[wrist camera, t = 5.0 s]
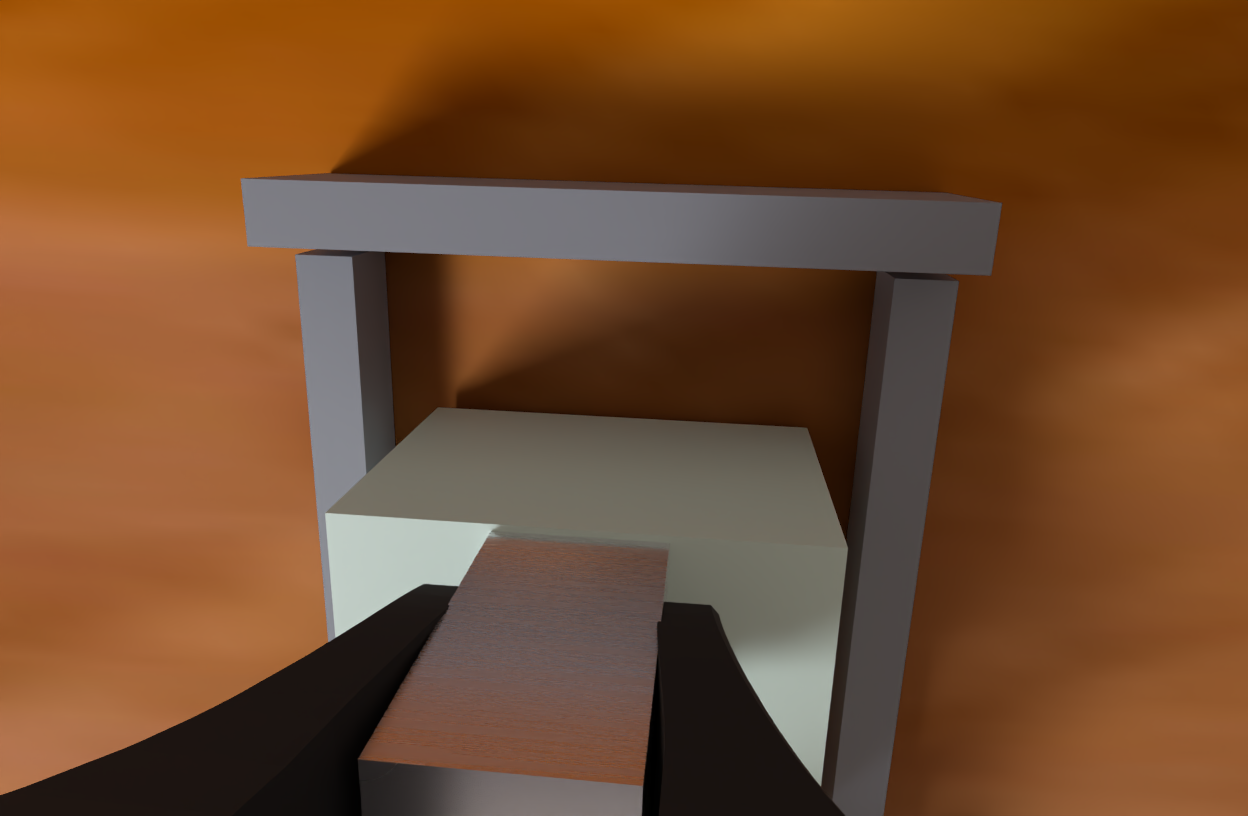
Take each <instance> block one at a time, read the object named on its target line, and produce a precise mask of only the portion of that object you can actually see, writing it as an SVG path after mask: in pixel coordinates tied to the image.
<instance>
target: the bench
mask: <svg viewBox="0 0 1248 816" xmlns="http://www.w3.org/2000/svg"><path fill="white" fill-rule="evenodd" d="M241 185H242V195H243V204H244V214H245V224H246V234H247V244H248V246H253V247H278V248H303V249H316V250H312V251H308V252H304V253H300V254H296V255H295V257H296V269H297V280H298V292H299V304H300V316H301V327H302V339H303V351H304V362H305V374H306V386H307V397H308V409H309V421H310V432H311V444H312V456H313V467H314V479H315V491H316V502H317V514H318V526H319V537H320V549H321V561H322V572H323V584H324V596H325V607H326V619H327V631H328V642H330V641H331V640H333V639H334V638H335V627H334V615H333V603H332V591H331V579H330V567H329V555H328V543H327V531H326V519H325V513H326V512H327V511H328V510H329V509H330V508H331V507H332V506H333V505H334V504H335V503H336V502H337V501H338V500H339V499H340V498H342V497H343V496H344V495H345V494H346V493H347V492H348V491H349V490H350V489H351V488H352V487H353V486H354V485H355V484H356V483H358V482H359V481H360V480H361V479H362V478H363V477H364V476H365V475H366V474H367V473H368V472H369V471H370V470H371V469H372V468H374V467H375V466H376V465H377V464H378V463H379V462H380V461H381V460H382V459H383V458H384V457H385V456H386V455H387V454H389V453H390V452H391V451H392V450H393V449H394V448H395V429H394V411H393V393H392V375H391V357H390V339H389V321H388V302H387V284H386V266H385V252H405V253H430V254H456V255H481V256H507V257H532V258H557V259H583V260H608V261H634V262H659V263H684V264H710V265H735V266H761V267H786V268H811V269H837V270H862V271H877V276H876V285H875V294H874V302H873V311H872V320H871V329H870V338H869V347H868V356H867V364H866V373H865V382H864V391H863V400H862V409H861V417H860V426H859V435H858V444H857V453H856V462H855V471H854V479H853V488H852V497H851V506H850V515H849V524H848V533H847V541H846V544H847V547H848V553H847V562H846V570H845V579H844V588H843V597H842V605H841V614H840V623H839V632H838V641H837V649H836V658H835V667H834V676H833V685H832V693H831V702H830V711H829V720H828V728H827V737H826V746H825V755H824V764H823V772H822V781H821V787H822V789H823V790H824V791H825V792H826V793H827V795H828V796H829V797H830V798H831V799H832V800H833V802H834V803H835V804H836V805H837V806H838V807H839V809H840V810H841V811H842V812H843V813H844V814H845V816H883V815H884V808H885V801H886V794H887V786H888V779H889V772H890V765H891V758H892V751H893V744H894V737H895V730H896V723H897V716H898V709H899V702H900V695H901V688H902V680H903V673H904V666H905V659H906V652H907V645H908V638H909V631H910V624H911V617H912V610H913V603H914V596H915V589H916V582H917V574H918V567H919V560H920V553H921V546H922V539H923V532H924V525H925V518H926V511H927V504H928V497H929V490H930V483H931V476H932V468H933V461H934V454H935V447H936V440H937V433H938V426H939V419H940V412H941V405H942V398H943V391H944V384H945V377H946V370H947V362H948V355H949V348H950V341H951V334H952V327H953V320H954V313H955V306H956V299H957V292H958V285H959V281H958V280H956V279H954V278H952V277H950V276H948V275H946V274H964V275H989V276H991V273H992V267H993V260H994V254H995V247H996V241H997V234H998V228H999V221H1000V214H1001V208H1002V203H999V202H994V201H988V200H983V199H978V198H972V197H967V196H961V195H956V194H950V193H941V192H909V191H877V190H845V189H813V188H781V187H749V186H717V185H685V184H653V183H621V182H589V181H557V180H525V179H493V178H461V177H429V176H397V175H365V174H333V173H324V174H308V175H291V176H275V177H258V178H242V179H241Z"/></svg>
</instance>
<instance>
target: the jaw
mask: <svg viewBox="0 0 1248 816" xmlns="http://www.w3.org/2000/svg"><path fill="white" fill-rule="evenodd" d="M325 519H326V531H327V543H328V555H329V567H330V579H331V591H332V603H333V615H334V627H335V638H336V637H338V636H339V635H341V634H342V633H344V632H346V631H347V630H349V629H350V628H352V627H354V626H355V625H357V624H358V623H360V622H362V621H363V620H365V619H366V618H368V617H369V616H371V615H372V614H374V613H376V612H377V611H379V610H380V609H382V608H383V607H385V606H387V605H388V604H390V603H391V602H393V601H395V600H396V599H398V598H399V597H401V596H403V595H404V594H406V593H408V592H409V591H411V590H413V589H415V588H417V587H419V586H421V585H423V584H434V585H448V586H458V588H457V590H456V592H455V593H454V595H453V597H452V598H451V600H450V602H449V604H448V605H450V606H449V607H448V609H447V611H446V613H445V614H444V615H443V617H442V618H441V619H440V621H439V622H438V623H437V624H436V626H435V628H434V629H433V631H432V633H431V635H430V636H429V638H428V640H427V641H426V643H425V645H424V647H423V648H422V650H421V652H420V653H419V655H418V657H417V659H416V660H415V662H414V664H413V665H412V667H411V669H410V671H409V672H408V674H407V676H406V677H405V679H404V681H403V683H402V684H401V686H400V688H399V689H398V691H397V693H396V695H395V696H394V698H393V700H392V701H391V703H390V705H389V707H388V708H387V710H386V712H385V713H384V715H383V717H382V719H381V720H380V722H379V724H378V726H377V727H376V729H375V731H374V732H373V734H372V736H371V738H370V739H369V741H368V743H367V744H366V746H365V748H364V750H363V751H362V753H361V755H360V756H359V758H358V769H359V782H360V795H361V808H362V816H651V795H652V773H653V750H654V727H655V704H656V681H657V658H658V642H657V622H658V621H661V618H662V611H663V606H664V602H677V603H691V604H704V605H711V606H712V607H713V608H714V609H715V610H716V611H717V613H718V614H719V616H720V620H721V623H722V626H723V629H724V631H725V634H726V636H727V638H728V641H729V643H730V645H731V647H732V649H733V651H734V653H735V656H736V658H737V660H738V662H739V664H740V666H741V667H742V669H743V671H744V673H745V675H746V677H747V679H748V680H749V682H750V684H751V685H752V687H753V689H754V690H755V692H756V694H757V695H758V697H759V699H760V701H761V702H762V704H763V706H764V707H765V709H766V711H767V712H768V714H769V715H770V717H771V718H772V720H773V721H774V723H775V725H776V726H777V728H778V729H779V731H780V732H781V733H782V735H783V736H784V738H785V739H786V741H787V742H788V743H789V745H790V746H791V748H792V749H793V751H794V752H795V753H796V755H797V756H798V758H799V759H800V760H801V762H802V763H803V764H804V766H805V767H806V768H807V770H808V771H809V772H810V774H811V775H812V776H813V777H814V779H815V780H816V781H817V782H818V784H819V785H820V786H821V781H822V772H823V764H824V755H825V746H826V737H827V728H828V720H829V711H830V702H831V693H832V685H833V676H834V667H835V658H836V649H837V641H838V632H839V623H840V614H841V605H842V597H843V588H844V579H845V570H846V562H847V553H848V547H847V544H846V541H845V538H844V535H843V532H842V529H841V526H840V523H839V520H838V517H837V514H836V511H835V508H834V505H833V502H832V500H831V497H830V494H829V491H828V488H827V485H826V482H825V479H824V476H823V473H822V470H821V467H820V464H819V461H818V458H817V455H816V452H815V449H814V447H813V444H812V441H811V438H810V435H809V432H808V429H807V428H802V427H784V426H766V425H748V424H730V423H712V422H694V421H675V420H657V419H639V418H621V417H603V416H585V415H567V414H549V413H531V412H513V411H495V410H477V409H459V408H441V407H438V408H437V409H436V410H434V411H433V412H432V413H431V414H430V415H429V416H428V417H427V418H426V419H425V420H424V421H423V422H422V423H421V424H419V425H418V426H417V427H416V428H415V429H414V430H413V431H412V432H411V433H410V434H409V435H408V436H407V437H406V438H405V439H403V440H402V441H401V442H400V443H399V444H398V445H397V446H396V447H395V448H394V449H393V450H392V451H391V452H390V453H389V454H387V455H386V456H385V457H384V458H383V459H382V460H381V461H380V462H379V463H378V464H377V465H376V466H375V467H374V468H372V469H371V470H370V471H369V472H368V473H367V474H366V475H365V476H364V477H363V478H362V479H361V480H360V481H359V482H358V483H356V484H355V485H354V486H353V487H352V488H351V489H350V490H349V491H348V492H347V493H346V494H345V495H344V496H343V497H342V498H340V499H339V500H338V501H337V502H336V503H335V504H334V505H333V506H332V507H331V508H330V509H329V510H328V511H327V512H326V513H325Z"/></svg>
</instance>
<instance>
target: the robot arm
mask: <svg viewBox="0 0 1248 816" xmlns="http://www.w3.org/2000/svg"><path fill="white" fill-rule="evenodd" d="M457 588H458V586H448V585H434V584H423V585H421V586H419V587H417V588H415V589H413V590H411V591H409V592H408V593H406V594H404V595H403V596H401V597H399V598H398V599H396V600H395V601H393V602H391V603H390V604H388V605H387V606H385V607H383V608H382V609H380V610H379V611H377V612H376V613H374V614H372V615H371V616H369V617H368V618H366V619H365V620H363V621H362V622H360V623H358V624H357V625H355V626H354V627H352V628H350V629H349V630H347V631H346V632H344V633H342V634H341V635H339V636H338V637H336V638H334V639H333V640H331V641H330V642H328V643H326V644H325V645H323V646H322V647H320V648H318V649H317V650H315V651H314V652H312V653H310V654H309V655H307V656H305V657H304V658H302V659H300V660H298V661H296V662H295V663H293V664H291V665H289V666H288V667H286V668H284V669H282V670H281V671H279V672H277V673H275V674H273V675H272V676H270V677H268V678H266V679H265V680H263V681H261V682H259V683H258V684H256V685H254V686H252V687H250V688H249V689H247V690H245V691H243V692H242V693H240V694H238V695H236V696H234V697H233V698H231V699H229V700H227V701H225V702H223V703H221V704H219V705H217V706H215V707H213V708H211V709H209V710H207V711H205V712H203V713H201V714H199V715H197V716H195V717H193V718H191V719H189V720H187V721H184V722H182V723H180V724H178V725H176V726H173V727H171V728H169V729H167V730H165V731H163V732H160V733H158V734H156V735H154V736H152V737H150V738H147V739H145V740H143V741H141V742H138V743H136V744H134V745H131V746H129V747H127V748H124V749H122V750H119V751H117V752H114V753H112V754H109V755H106V756H104V757H101V758H99V759H96V760H93V761H91V762H88V763H86V764H83V765H80V766H78V767H75V768H73V769H70V770H68V771H65V772H62V773H60V774H57V775H55V776H52V777H49V778H47V779H44V780H42V781H39V782H37V783H34V784H31V785H29V786H26V787H23V788H20V789H18V790H15V791H12V792H9V793H6V794H3V795H0V816H362V808H361V795H360V782H359V769H358V758H359V756H360V755H361V753H362V751H363V750H364V748H365V746H366V744H367V743H368V741H369V739H370V738H371V736H372V734H373V732H374V731H375V729H376V727H377V726H378V724H379V722H380V720H381V719H382V717H383V715H384V713H385V712H386V710H387V708H388V707H389V705H390V703H391V701H392V700H393V698H394V696H395V695H396V693H397V691H398V689H399V688H400V686H401V684H402V683H403V681H404V679H405V677H406V676H407V674H408V672H409V671H410V669H411V667H412V665H413V664H414V662H415V660H416V659H417V657H418V655H419V653H420V652H421V650H422V648H423V647H424V645H425V643H426V641H427V640H428V638H429V636H430V635H431V633H432V631H433V629H434V628H435V626H436V624H437V623H438V622H439V621H440V619H441V618H442V617H443V615H444V614H445V613H446V611H447V609H448V607H449V606H450V605H448V604H449V602H450V600H451V598H452V597H453V595H454V593H455V592H456V590H457ZM657 642H658V658H657V681H656V704H655V727H654V750H653V773H652V795H651V816H845V814H844V813H843V812H842V811H841V810H840V809H839V807H838V806H837V805H836V804H835V803H834V802H833V800H832V799H831V798H830V797H829V796H828V795H827V793H826V792H825V791H824V790H823V789H822V787H821V786H820V785H819V784H818V782H817V781H816V780H815V779H814V777H813V776H812V775H811V774H810V772H809V771H808V770H807V768H806V767H805V766H804V764H803V763H802V762H801V760H800V759H799V758H798V756H797V755H796V753H795V752H794V751H793V749H792V748H791V746H790V745H789V743H788V742H787V741H786V739H785V738H784V736H783V735H782V733H781V732H780V731H779V729H778V728H777V726H776V725H775V723H774V721H773V720H772V718H771V717H770V715H769V714H768V712H767V711H766V709H765V707H764V706H763V704H762V702H761V701H760V699H759V697H758V695H757V694H756V692H755V690H754V689H753V687H752V685H751V684H750V682H749V680H748V679H747V677H746V675H745V673H744V671H743V669H742V667H741V666H740V664H739V662H738V660H737V658H736V656H735V653H734V651H733V649H732V647H731V645H730V643H729V641H728V638H727V636H726V634H725V631H724V629H723V626H722V623H721V620H720V616H719V614H718V613H717V611H716V610H715V609H714V608H713V607H712V606H711V605H704V604H691V603H677V602H664V606H663V611H662V618H661V621H658V622H657Z"/></svg>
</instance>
